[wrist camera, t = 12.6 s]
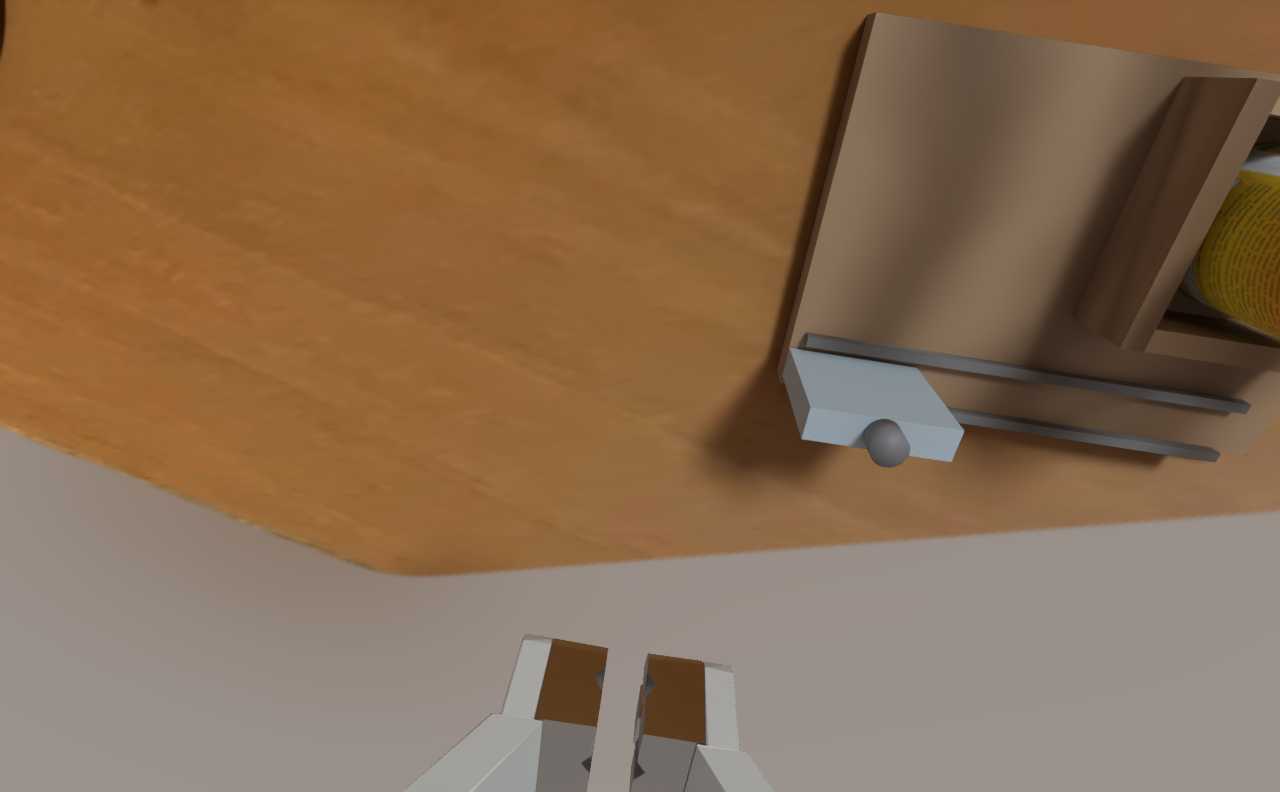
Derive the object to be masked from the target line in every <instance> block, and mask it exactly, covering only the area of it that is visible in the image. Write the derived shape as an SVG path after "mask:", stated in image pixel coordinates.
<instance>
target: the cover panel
mask: <svg viewBox="0 0 1280 792" xmlns="http://www.w3.org/2000/svg"><path fill="white" fill-rule="evenodd" d="M783 379H784V382H785V386H786V389H787V392H788V396H789V399H790V402H791V406H792V409H793V412H794V416H795V419H796V422H797V426H798V429H799V433H800V436H801V439H804V440H811V441H817V442H824V443H830V444H837V445H843V446H850V447H856V448H863V449H868V452H869V454H870V456H871V458H872V460H873V461H874V462H875V463H876V464H877V465H879V466H882V467H894V466H897V465H899V464H901V463H903V462H904V461H905V460H906V459H907V457H908V456H915V457H921V458H928V459H934V460H941V461H947V462H952V459H953V457H954V455H955V452H956V450H957V448H958V445H959V443H960V440H961V438H962V436H963V433H964V430H963V428H962V427H961V426H960V424H959V423H958V422H957V420H956V419H955V418H954V416H953V415H952V414H951V412H950V411H949V410H948V408H947V407H946V406H945V404H944V403H943V402H942V400H941V399H940V398H939V396H938V395H937V394H936V392H935V391H934V390H933V388H932V387H931V386H930V384H929V383H928V382H927V380H926V379H925V378H924V376H923V375H922V374H921V372H920V371H919V370H918V368H917V367H911V366H905V365H898V364H892V363H885V362H879V361H872V360H866V359H859V358H853V357H846V356H840V355H833V354H827V353H820V352H814V351H807V350H801V349H794V348H789V352H788V356H787V360H786V364H785V368H784V371H783Z"/></svg>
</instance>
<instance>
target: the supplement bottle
mask: <svg viewBox="0 0 1280 792" xmlns="http://www.w3.org/2000/svg"><path fill="white" fill-rule="evenodd" d="M1177 290H1178V291H1179V292H1180V293H1182V294H1184V295H1185V296H1187V297H1189V298H1191V299H1193V300H1195V301H1197V302H1199V303H1201V304H1203V305H1205V306H1208V307H1210V308H1212V309H1214V310H1217V311H1219V312H1221V313H1223V314H1226V315H1228V316H1230V317H1232V318H1235V319H1237V320H1239V321H1241V322H1243V323H1245V324H1248V325H1250V326H1252V327H1254V328H1256V329H1259V330H1261V331H1263V332H1265V333H1267V334H1270V335H1272V336H1274V337H1276V338H1278V339H1280V143H1270V144H1262V145H1257V146H1253V147H1252V149H1251V151H1250V153H1249V155H1248V157H1247V159H1246V161H1245V162H1244V164H1243V166H1242V168H1241V170H1240V172H1239V174H1238V176H1237V177H1236V179H1235V181H1234V183H1233V185H1232V187H1231V189H1230V191H1229V193H1228V194H1227V196H1226V198H1225V200H1224V202H1223V204H1222V206H1221V208H1220V210H1219V211H1218V213H1217V215H1216V217H1215V219H1214V221H1213V223H1212V225H1211V226H1210V228H1209V230H1208V232H1207V234H1206V236H1205V238H1204V240H1203V242H1202V243H1201V245H1200V247H1199V249H1198V251H1197V253H1196V255H1195V257H1194V259H1193V260H1192V262H1191V264H1190V266H1189V268H1188V270H1187V272H1186V274H1185V275H1184V277H1183V279H1182V281H1181V283H1180V285H1179V287H1178V289H1177Z"/></svg>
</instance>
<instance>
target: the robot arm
mask: <svg viewBox="0 0 1280 792" xmlns="http://www.w3.org/2000/svg"><path fill="white" fill-rule="evenodd" d="M607 653H608V648H604V647H598V646H593V645H587V644H582V643H576V642H571V641H565V640H559V639H552V638H546V637H541V636H534V635H529V634H526V635H525V636H524V638H523V640H522V642H521V646H520V649H519V653H518V656H517V659H516V663H515V666H514V670H513V673H512V677H511V680H510V683H509V687H508V690H507V693H506V697H505V700H504V704H503V707H502V711H501V714H495V713H492V714H490V715H489V716H488V717H487V718H486V719H485V720H484V721H482V722H481V723H480V724H479V725H478V726H477V727H476V728H474V730H472V731H471V732H470V733H469V734H468V735H466V736H465V737H464V738H463V739H462V740H461V741H460V742H459V743H457V744H456V745H455V746H454V747H453V748H452V749H451V750H449V751H448V752H447V753H446V754H445V755H444V756H443V757H441V758H440V759H439V760H438V761H437V762H436V763H435V764H434V765H433V766H431V767H430V768H429V769H428V770H427V771H426V772H425V773H423V774H422V775H421V776H420V777H419V778H418V779H416V781H414V782H413V783H412V784H411V785H410V786H409V787H407V788H406V789H405V790H404V791H403V792H586V791H587V785H588V779H589V774H590V767H591V761H592V755H593V749H594V742H595V736H596V729H597V722H598V714H599V709H600V702H601V694H602V687H603V681H604V674H605V667H606V660H607ZM633 742H634V744H635V750H634V755H633V760H632V766H631V777H630V791H629V792H775V791H774V790H773V788H772V787H771V785H770V784H769V782H768V781H767V779H766V778H765V776H764V775H763V774H762V772H761V771H760V769H759V768H758V766H757V765H756V763H755V762H754V760H753V759H752V758H751V756H750V755H749V753H748V752H744V751H739V740H738V727H737V713H736V700H735V688H734V674H733V669H732V667H731V666H729V665H722V664H716V663H709V662H703V663H702V661H698V660H691V659H684V658H677V657H670V656H663V655H655V654H648V655H647V658H646V662H645V668H644V678H643V684H642V685H641V687H640V693H639V699H638V705H637V711H636V720H635V730H634V740H633Z"/></svg>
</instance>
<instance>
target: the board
mask: <svg viewBox="0 0 1280 792" xmlns="http://www.w3.org/2000/svg"><path fill="white" fill-rule="evenodd" d="M1270 143H1280V74H1274V73H1267V72H1261V71H1254V70H1248V69H1241V68H1235V67H1228V66H1222V65H1216V64H1209V63H1203V62H1196V61H1190V60H1183V59H1177V58H1170V57H1164V56H1157V55H1151V54H1144V53H1138V52H1131V51H1125V50H1118V49H1112V48H1105V47H1099V46H1092V45H1086V44H1079V43H1073V42H1066V41H1060V40H1053V39H1047V38H1040V37H1034V36H1027V35H1021V34H1014V33H1008V32H1001V31H995V30H988V29H982V28H975V27H969V26H962V25H956V24H949V23H943V22H936V21H930V20H923V19H917V18H910V17H904V16H897V15H891V14H885V13H878V12H876V13H873V14H869V15H867V18H866V22H865V26H864V30H863V34H862V38H861V42H860V46H859V50H858V54H857V58H856V61H855V65H854V69H853V73H852V77H851V81H850V85H849V89H848V93H847V97H846V101H845V104H844V108H843V112H842V116H841V120H840V124H839V128H838V132H837V136H836V140H835V144H834V147H833V151H832V155H831V159H830V163H829V167H828V171H827V175H826V179H825V183H824V187H823V190H822V194H821V198H820V202H819V206H818V210H817V214H816V218H815V222H814V226H813V230H812V233H811V237H810V241H809V245H808V249H807V253H806V257H805V261H804V265H803V269H802V273H801V276H800V280H799V284H798V288H797V292H796V296H795V300H794V304H793V308H792V312H791V316H790V319H789V323H788V327H787V331H786V335H785V339H784V343H783V347H782V351H781V355H780V359H779V362H778V366H777V370H776V371H777V375H778V379H779V382H780V383H781V384H785V382H784V379H783V371H784V368H785V364H786V360H787V356H788V352H789V348H794V349H801V350H807V351H814V352H820V353H827V354H833V355H840V356H846V357H853V358H859V359H866V360H872V361H879V362H885V363H892V364H898V365H905V366H911V367H917V368H918V370H919V371H920V372H921V374H922V375H923V376H924V378H925V379H926V380H927V382H928V383H929V384H930V386H931V387H932V388H933V390H934V391H935V392H936V394H937V395H938V396H939V398H940V399H941V400H942V402H943V403H944V404H945V406H946V407H947V408H948V410H949V411H950V412H951V414H952V415H953V416H954V418H955V419H956V420H957V422H958V423H962V424H969V425H975V426H982V427H988V428H995V429H1001V430H1008V431H1014V432H1021V433H1027V434H1034V435H1040V436H1047V437H1053V438H1060V439H1066V440H1073V441H1079V442H1086V443H1092V444H1099V445H1105V446H1112V447H1118V448H1125V449H1131V450H1138V451H1144V452H1151V453H1157V454H1164V455H1170V456H1177V457H1183V458H1190V459H1196V460H1203V461H1209V462H1216V460H1217V459H1218V457H1219V456H1220V453H1219V452H1217V451H1223V452H1230V453H1236V454H1243V455H1248V453H1249V452H1250V450H1251V449H1252V447H1253V446H1254V444H1255V443H1256V441H1257V440H1258V438H1259V437H1260V435H1261V434H1262V432H1263V431H1264V429H1265V428H1266V426H1267V425H1268V423H1269V421H1270V420H1271V418H1272V417H1273V415H1274V414H1275V412H1276V411H1277V409H1278V408H1279V406H1280V339H1278V338H1276V337H1274V336H1272V335H1270V334H1267V333H1265V332H1263V331H1261V330H1259V329H1256V328H1254V327H1252V326H1250V325H1248V324H1245V323H1243V322H1241V321H1239V320H1237V319H1235V318H1232V317H1230V316H1228V315H1226V314H1223V313H1221V312H1219V311H1217V310H1214V309H1212V308H1210V307H1208V306H1205V305H1203V304H1201V303H1199V302H1197V301H1195V300H1193V299H1191V298H1189V297H1187V296H1185V295H1184V294H1182V293H1180V292H1179V291H1178V290H1177V289H1178V287H1179V285H1180V283H1181V281H1182V279H1183V277H1184V275H1185V274H1186V272H1187V270H1188V268H1189V266H1190V264H1191V262H1192V260H1193V259H1194V257H1195V255H1196V253H1197V251H1198V249H1199V247H1200V245H1201V243H1202V242H1203V240H1204V238H1205V236H1206V234H1207V232H1208V230H1209V228H1210V226H1211V225H1212V223H1213V221H1214V219H1215V217H1216V215H1217V213H1218V211H1219V210H1220V208H1221V206H1222V204H1223V202H1224V200H1225V198H1226V196H1227V194H1228V193H1229V191H1230V189H1231V187H1232V185H1233V183H1234V181H1235V179H1236V177H1237V176H1238V174H1239V172H1240V170H1241V168H1242V166H1243V164H1244V162H1245V161H1246V159H1247V157H1248V155H1249V153H1250V151H1251V149H1252V147H1253V146H1257V145H1262V144H1270ZM1216 450H1217V451H1216Z"/></svg>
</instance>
